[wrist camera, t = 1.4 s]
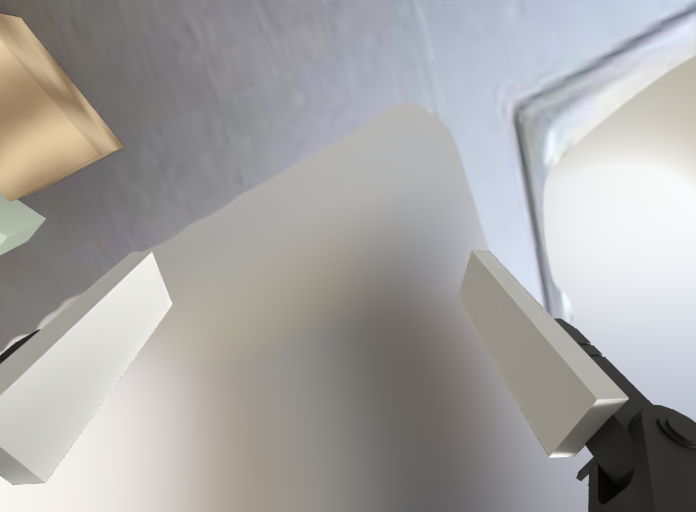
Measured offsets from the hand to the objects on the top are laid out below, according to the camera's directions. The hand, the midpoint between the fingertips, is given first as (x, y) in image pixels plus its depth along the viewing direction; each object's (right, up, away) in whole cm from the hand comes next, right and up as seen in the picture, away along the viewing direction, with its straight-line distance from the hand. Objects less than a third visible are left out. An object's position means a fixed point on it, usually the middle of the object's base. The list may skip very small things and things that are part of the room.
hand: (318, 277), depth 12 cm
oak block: (-31, +15, +17) cm, 39 cm away
